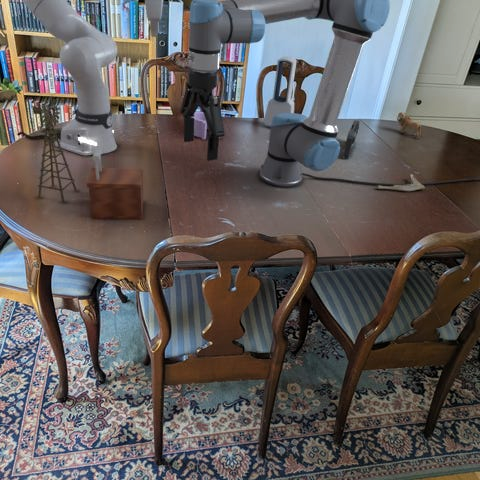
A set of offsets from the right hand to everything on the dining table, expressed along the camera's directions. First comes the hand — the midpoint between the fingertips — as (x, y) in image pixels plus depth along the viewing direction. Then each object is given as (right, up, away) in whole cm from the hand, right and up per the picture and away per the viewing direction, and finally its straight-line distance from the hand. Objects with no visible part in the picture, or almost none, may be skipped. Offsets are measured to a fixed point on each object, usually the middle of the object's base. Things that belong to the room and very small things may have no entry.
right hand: (199, 150), depth 127 cm
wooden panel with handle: (-25, -7, +6) cm, 26 cm away
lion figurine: (+90, +26, +95) cm, 134 cm away
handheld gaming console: (+57, +13, +70) cm, 91 cm away
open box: (-25, -15, +12) cm, 32 cm away
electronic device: (+28, +27, +86) cm, 95 cm away
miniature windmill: (-45, -10, +16) cm, 49 cm away
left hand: (-14, +36, +9) cm, 40 cm away
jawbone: (+68, -4, +45) cm, 82 cm away
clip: (-5, +22, +74) cm, 77 cm away
